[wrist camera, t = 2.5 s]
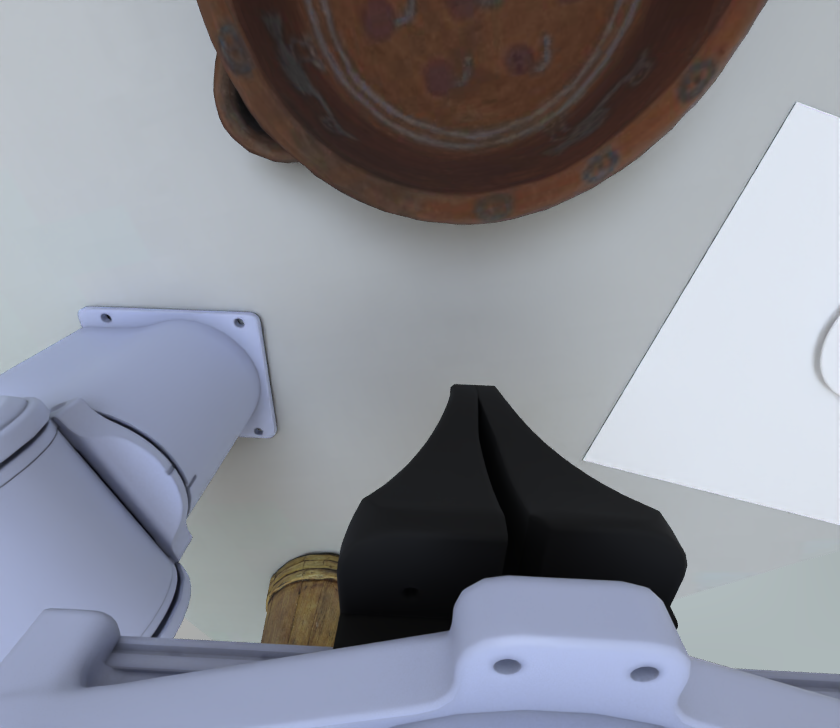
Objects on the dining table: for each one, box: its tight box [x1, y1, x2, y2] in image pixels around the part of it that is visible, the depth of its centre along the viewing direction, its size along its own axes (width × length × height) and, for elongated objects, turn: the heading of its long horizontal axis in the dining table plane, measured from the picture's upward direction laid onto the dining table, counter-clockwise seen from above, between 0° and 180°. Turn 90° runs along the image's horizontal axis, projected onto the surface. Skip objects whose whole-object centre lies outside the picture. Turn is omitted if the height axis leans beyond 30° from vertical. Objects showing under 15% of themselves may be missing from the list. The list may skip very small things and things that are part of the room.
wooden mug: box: [261, 554, 340, 647], centre depth 26 cm, size 9×14×18 cm, turn 118°
